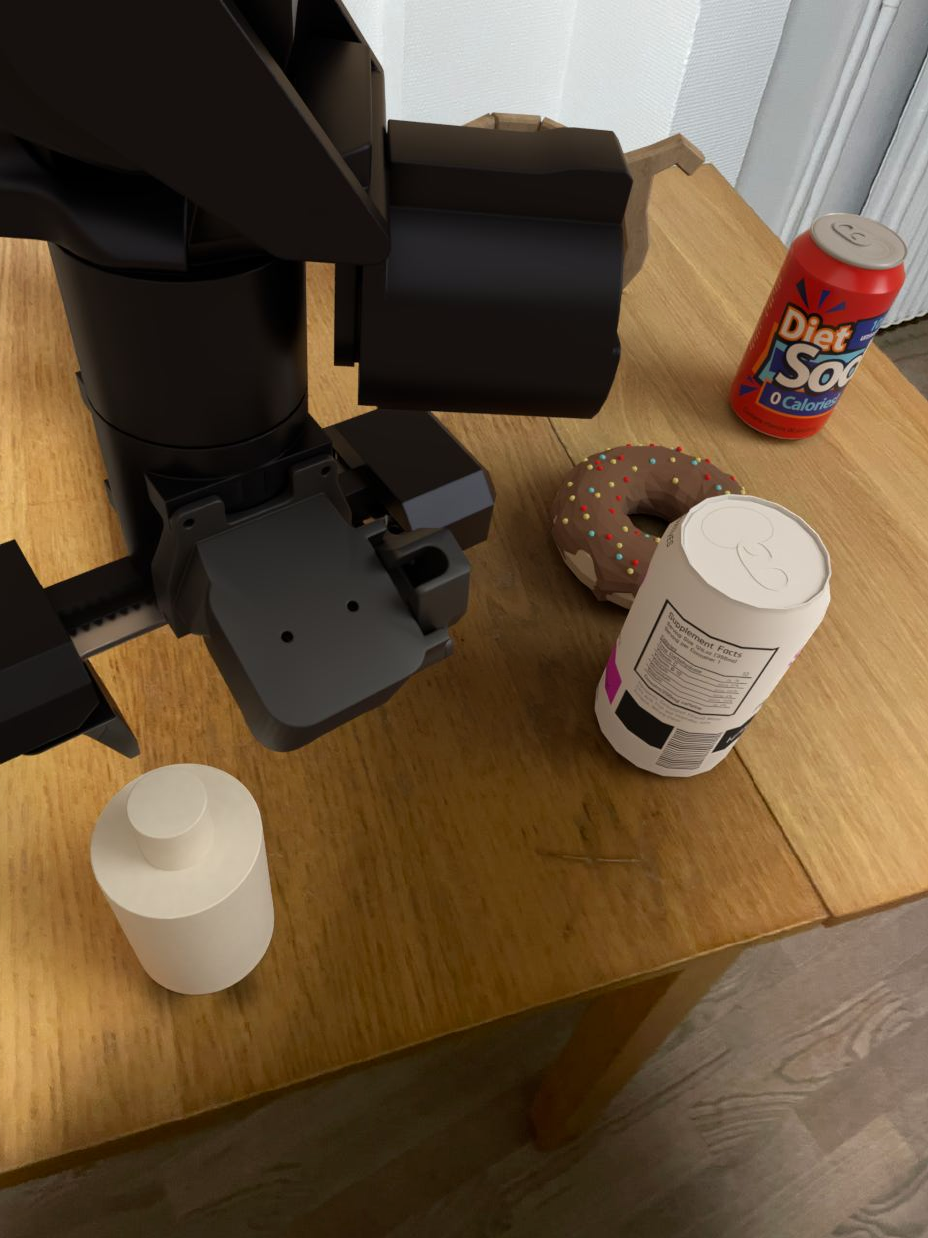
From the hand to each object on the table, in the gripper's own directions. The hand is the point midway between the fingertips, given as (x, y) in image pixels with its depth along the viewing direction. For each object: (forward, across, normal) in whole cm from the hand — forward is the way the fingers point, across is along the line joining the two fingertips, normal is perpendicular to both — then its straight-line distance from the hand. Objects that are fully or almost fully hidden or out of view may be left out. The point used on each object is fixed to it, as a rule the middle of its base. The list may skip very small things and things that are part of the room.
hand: (241, 694), depth 36 cm
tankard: (+13, +41, +28) cm, 51 cm away
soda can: (+13, +50, +9) cm, 53 cm away
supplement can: (+13, +22, -6) cm, 27 cm away
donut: (+13, +31, +4) cm, 34 cm away
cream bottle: (+13, -4, -3) cm, 14 cm away
